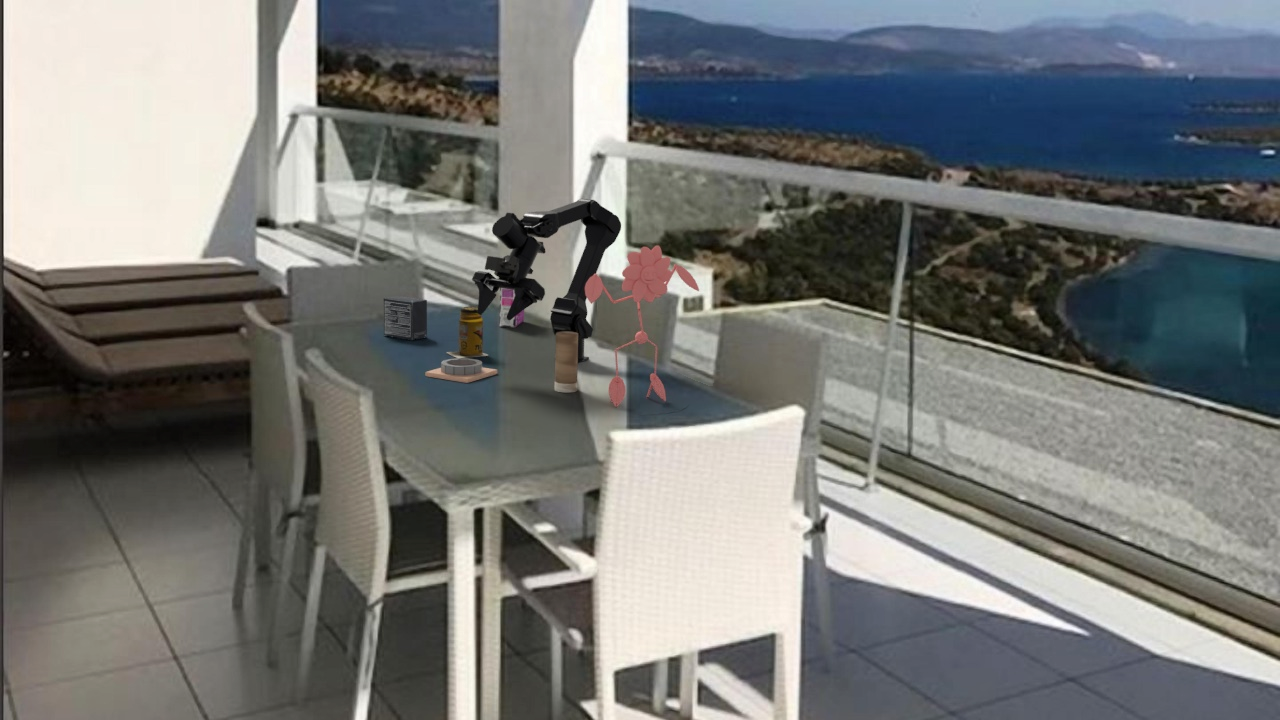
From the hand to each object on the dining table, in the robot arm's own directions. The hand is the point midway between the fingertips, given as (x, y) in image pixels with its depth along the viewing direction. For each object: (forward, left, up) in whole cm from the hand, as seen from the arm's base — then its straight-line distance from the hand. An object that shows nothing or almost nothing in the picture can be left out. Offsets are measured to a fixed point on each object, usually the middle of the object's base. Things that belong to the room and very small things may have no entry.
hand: (493, 316), depth 299 cm
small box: (-27, -48, -15) cm, 57 cm away
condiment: (-18, -21, -15) cm, 32 cm away
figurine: (+4, +42, -15) cm, 45 cm away
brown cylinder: (0, +20, -14) cm, 25 cm away
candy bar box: (-60, -36, -15) cm, 72 cm away
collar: (+2, -8, -14) cm, 17 cm away
